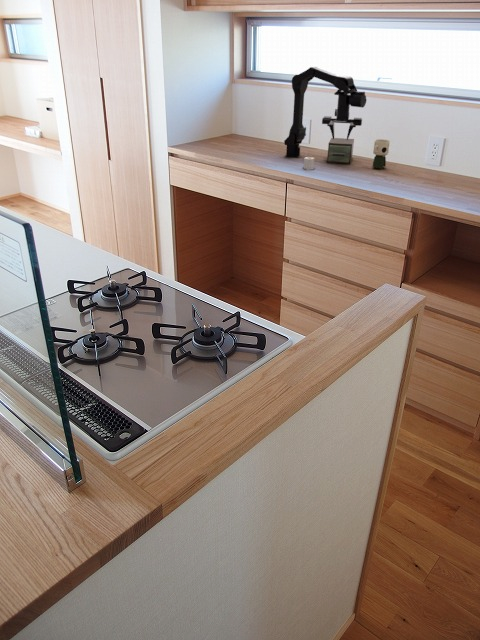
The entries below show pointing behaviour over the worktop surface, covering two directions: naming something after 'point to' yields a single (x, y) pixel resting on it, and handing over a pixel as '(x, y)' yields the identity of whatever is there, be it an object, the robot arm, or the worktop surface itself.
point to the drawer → (339, 153)
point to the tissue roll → (308, 163)
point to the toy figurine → (380, 153)
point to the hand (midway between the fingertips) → (340, 139)
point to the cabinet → (342, 142)
